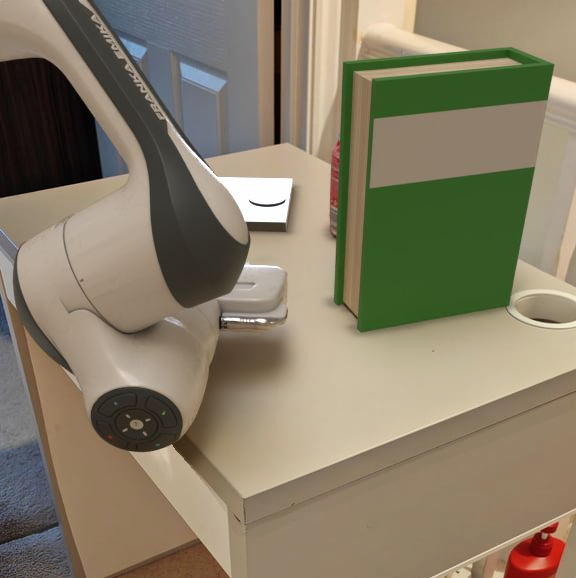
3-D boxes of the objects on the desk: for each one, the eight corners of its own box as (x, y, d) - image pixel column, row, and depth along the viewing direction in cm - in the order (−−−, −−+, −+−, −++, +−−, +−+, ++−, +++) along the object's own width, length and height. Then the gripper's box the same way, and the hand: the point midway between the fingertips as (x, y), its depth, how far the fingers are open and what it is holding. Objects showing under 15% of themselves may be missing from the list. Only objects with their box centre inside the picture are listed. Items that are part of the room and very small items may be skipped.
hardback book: (360, 334, 86) (376, 81, 70) (333, 303, 91) (343, 61, 76) (508, 307, 90) (554, 64, 75) (474, 279, 96) (511, 46, 80)
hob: (131, 230, 107) (130, 217, 106) (154, 186, 119) (152, 174, 118) (285, 233, 106) (285, 220, 105) (292, 189, 118) (292, 177, 117)
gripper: (286, 294, 72) (294, 231, 82) (54, 287, 73) (92, 226, 83) (285, 358, 76) (294, 290, 87) (67, 351, 77) (101, 284, 87)
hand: (193, 258), depth 85 cm, fingers open, 8 cm apart
